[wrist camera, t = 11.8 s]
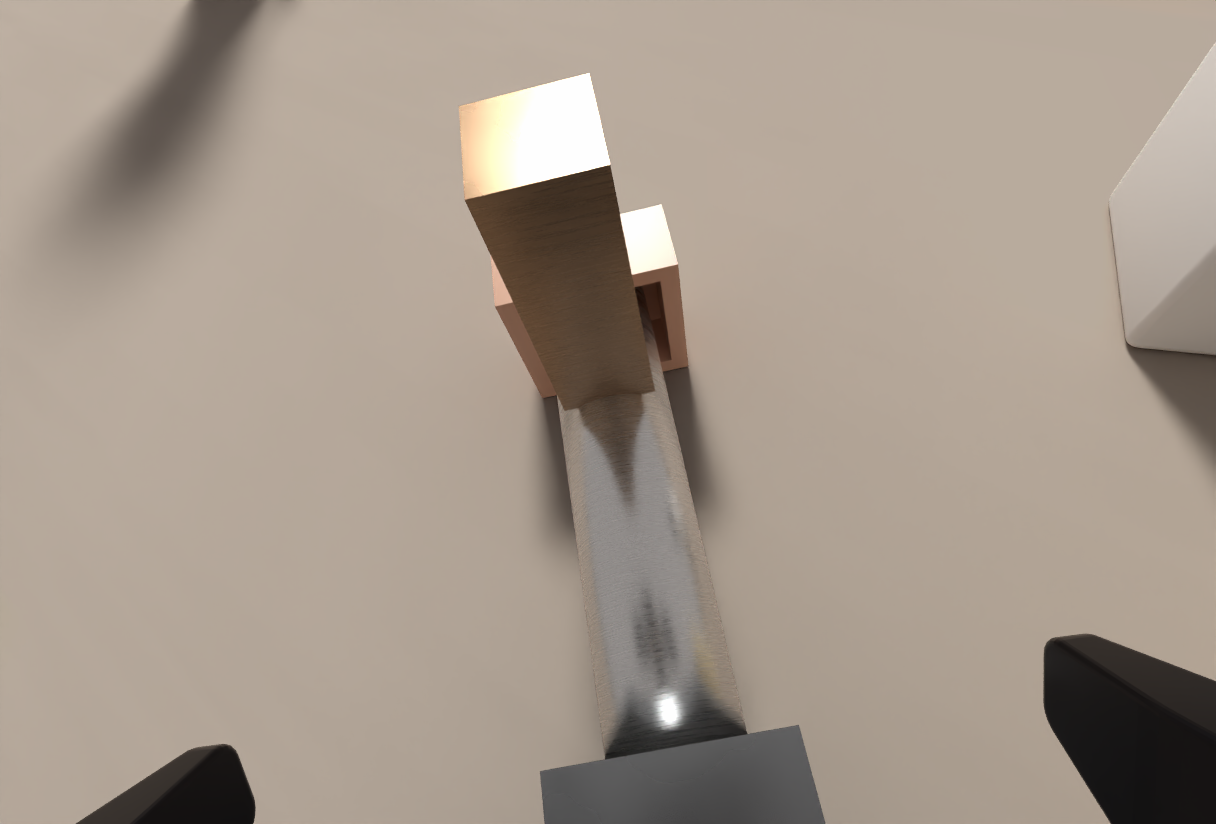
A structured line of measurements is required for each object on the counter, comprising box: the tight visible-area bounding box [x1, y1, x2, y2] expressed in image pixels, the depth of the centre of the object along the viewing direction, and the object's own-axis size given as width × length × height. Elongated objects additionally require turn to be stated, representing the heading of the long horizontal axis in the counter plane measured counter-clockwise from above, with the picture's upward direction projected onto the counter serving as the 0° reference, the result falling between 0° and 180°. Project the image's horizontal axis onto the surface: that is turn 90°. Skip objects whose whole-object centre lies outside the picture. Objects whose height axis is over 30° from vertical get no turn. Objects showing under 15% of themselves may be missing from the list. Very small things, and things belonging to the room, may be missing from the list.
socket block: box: [491, 204, 688, 398], centre depth 23 cm, size 3×6×6 cm, turn 99°
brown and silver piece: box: [459, 73, 747, 760], centre depth 15 cm, size 18×4×12 cm, turn 9°
